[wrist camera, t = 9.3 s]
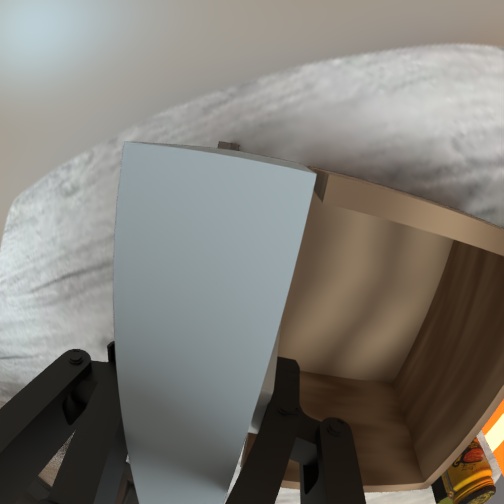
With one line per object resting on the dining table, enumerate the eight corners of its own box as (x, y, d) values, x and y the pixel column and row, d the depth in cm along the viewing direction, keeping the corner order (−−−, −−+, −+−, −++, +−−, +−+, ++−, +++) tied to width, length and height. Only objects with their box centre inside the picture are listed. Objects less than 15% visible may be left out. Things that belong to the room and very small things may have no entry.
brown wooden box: (196, 357, 28) (146, 461, 16) (229, 143, 22) (158, 129, 10) (390, 392, 27) (420, 494, 15) (466, 207, 21) (572, 252, 9)
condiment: (473, 410, 27) (507, 478, 16) (472, 441, 29) (497, 502, 18) (423, 435, 29) (446, 509, 18) (428, 463, 31) (445, 527, 19)
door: (179, 400, 21) (125, 517, 11) (211, 146, 16) (76, 138, 5) (239, 416, 21) (208, 544, 11) (300, 163, 15) (316, 173, 5)
